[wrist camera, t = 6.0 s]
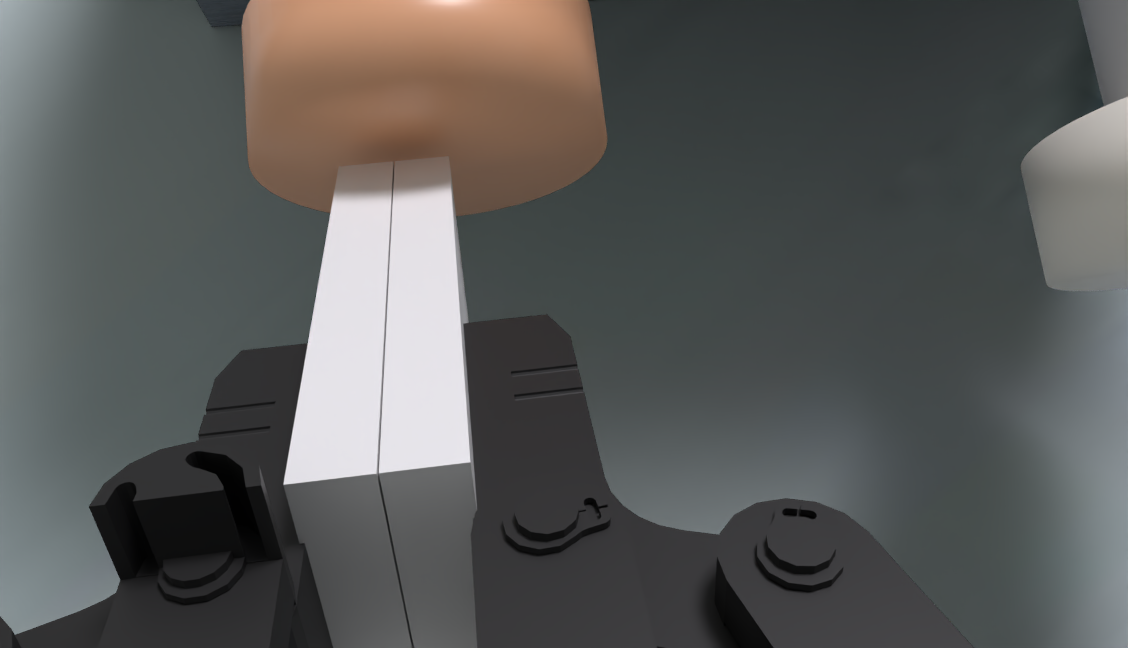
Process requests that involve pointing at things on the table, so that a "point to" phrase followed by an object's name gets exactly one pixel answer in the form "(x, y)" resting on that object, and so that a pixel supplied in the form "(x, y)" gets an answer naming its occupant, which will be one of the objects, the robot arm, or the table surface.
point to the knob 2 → (1087, 171)
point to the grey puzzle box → (223, 11)
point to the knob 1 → (423, 94)
